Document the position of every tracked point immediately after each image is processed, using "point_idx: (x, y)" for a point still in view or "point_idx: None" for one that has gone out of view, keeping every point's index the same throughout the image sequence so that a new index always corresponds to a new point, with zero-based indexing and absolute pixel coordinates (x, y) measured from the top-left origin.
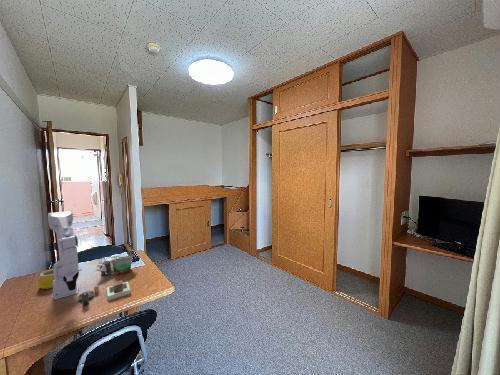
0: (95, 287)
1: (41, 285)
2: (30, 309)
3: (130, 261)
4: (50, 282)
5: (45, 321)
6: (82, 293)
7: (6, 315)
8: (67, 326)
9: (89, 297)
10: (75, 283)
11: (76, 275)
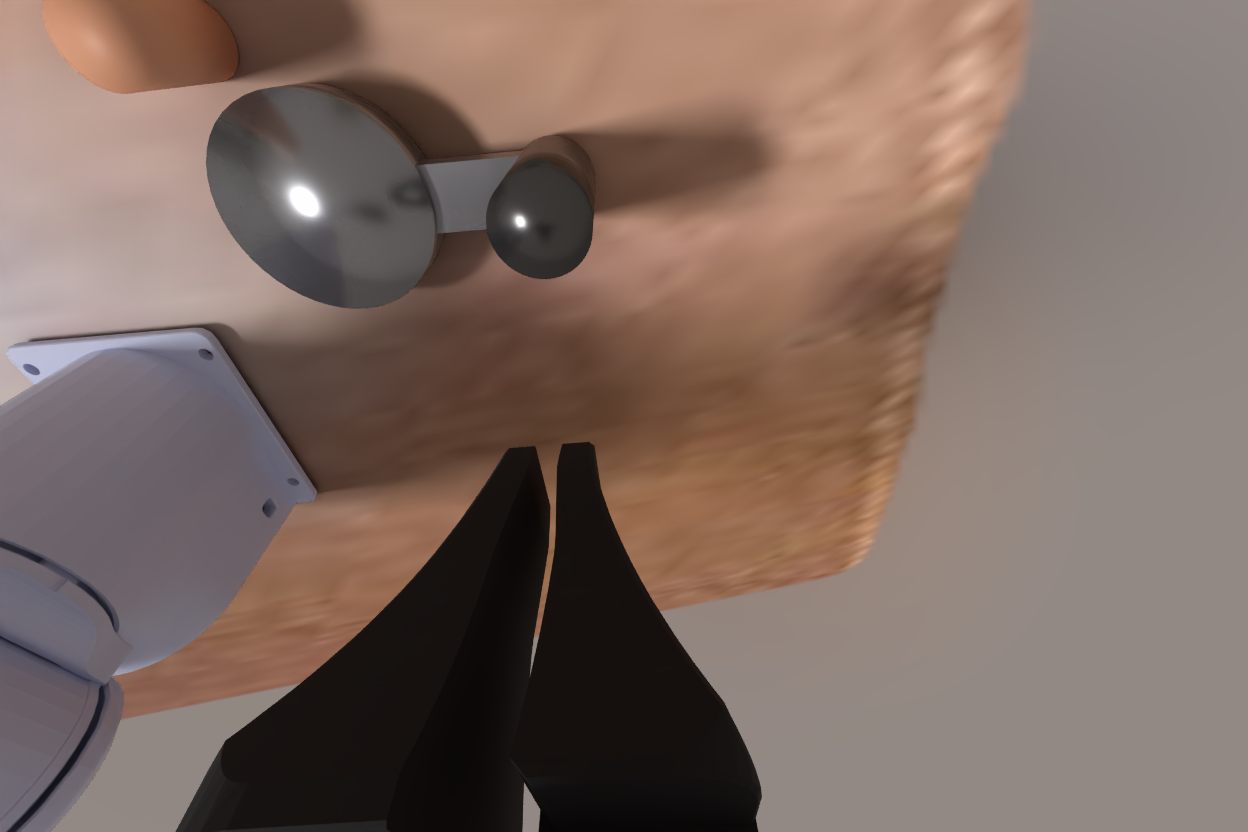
0: (151, 56)
1: None
2: None
3: None
4: None
5: (686, 471)
6: (279, 268)
7: None
8: (930, 304)
9: (408, 147)
10: (620, 541)
11: (625, 806)
